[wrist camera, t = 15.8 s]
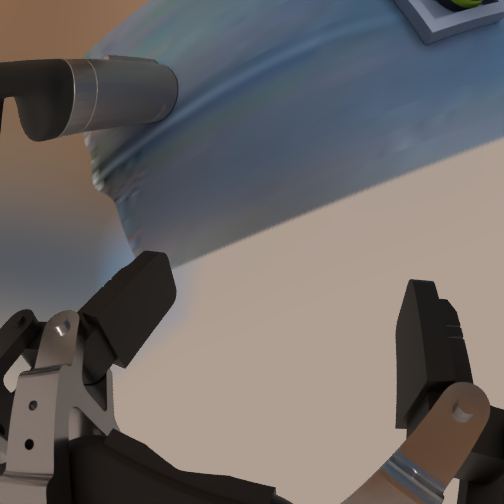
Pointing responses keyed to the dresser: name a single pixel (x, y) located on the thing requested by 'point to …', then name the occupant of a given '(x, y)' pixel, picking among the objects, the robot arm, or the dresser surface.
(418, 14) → the slate blue open bin
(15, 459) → the robot arm
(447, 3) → the beverage can
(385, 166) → the dresser surface
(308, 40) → the dresser surface
